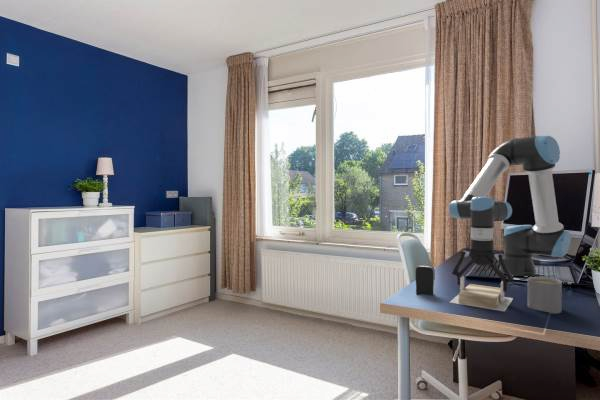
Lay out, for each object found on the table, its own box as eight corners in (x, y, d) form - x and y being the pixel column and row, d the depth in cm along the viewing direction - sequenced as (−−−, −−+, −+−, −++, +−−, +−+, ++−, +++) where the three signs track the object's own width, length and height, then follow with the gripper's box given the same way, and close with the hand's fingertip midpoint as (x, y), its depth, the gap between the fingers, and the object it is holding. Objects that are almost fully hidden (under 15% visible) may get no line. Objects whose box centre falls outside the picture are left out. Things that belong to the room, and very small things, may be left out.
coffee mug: (564, 315, 127) (564, 284, 127) (528, 311, 132) (529, 282, 131) (557, 303, 140) (557, 275, 139) (525, 300, 144) (525, 273, 143)
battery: (435, 294, 153) (435, 265, 152) (433, 297, 150) (433, 267, 149) (417, 292, 157) (417, 263, 156) (415, 294, 153) (415, 265, 153)
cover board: (469, 292, 153) (469, 283, 153) (503, 297, 146) (504, 288, 145) (458, 302, 140) (458, 293, 140) (495, 309, 133) (495, 298, 133)
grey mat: (462, 292, 155) (462, 290, 155) (513, 299, 145) (513, 298, 145) (449, 303, 141) (449, 302, 141) (504, 313, 130) (504, 311, 130)
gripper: (443, 237, 146) (443, 293, 147) (519, 243, 131) (518, 305, 132) (449, 235, 152) (449, 289, 153) (522, 240, 137) (522, 300, 138)
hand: (481, 297), depth 143 cm, fingers open, 13 cm apart
